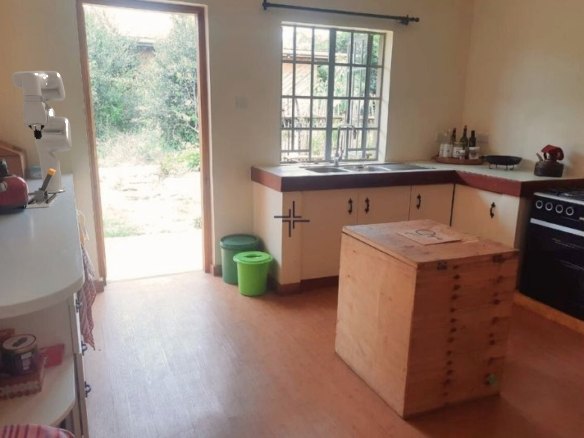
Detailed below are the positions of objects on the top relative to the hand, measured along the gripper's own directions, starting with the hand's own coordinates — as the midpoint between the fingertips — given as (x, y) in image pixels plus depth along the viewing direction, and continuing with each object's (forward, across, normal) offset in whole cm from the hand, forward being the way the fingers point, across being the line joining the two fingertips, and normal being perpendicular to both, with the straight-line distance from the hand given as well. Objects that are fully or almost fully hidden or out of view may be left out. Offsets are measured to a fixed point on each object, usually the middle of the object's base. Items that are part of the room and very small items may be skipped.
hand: (38, 138), depth 218 cm
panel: (+30, +1, +6) cm, 31 cm away
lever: (+26, +1, +6) cm, 26 cm away
